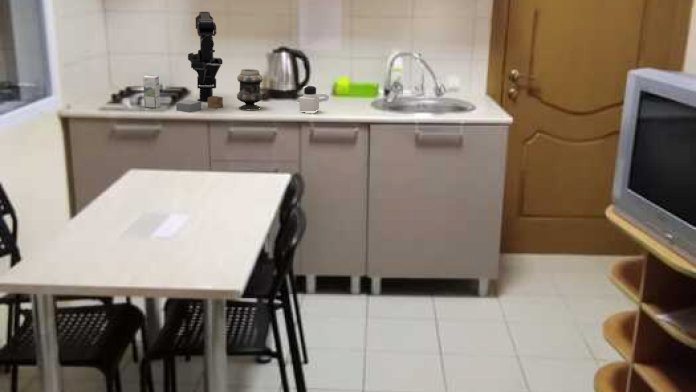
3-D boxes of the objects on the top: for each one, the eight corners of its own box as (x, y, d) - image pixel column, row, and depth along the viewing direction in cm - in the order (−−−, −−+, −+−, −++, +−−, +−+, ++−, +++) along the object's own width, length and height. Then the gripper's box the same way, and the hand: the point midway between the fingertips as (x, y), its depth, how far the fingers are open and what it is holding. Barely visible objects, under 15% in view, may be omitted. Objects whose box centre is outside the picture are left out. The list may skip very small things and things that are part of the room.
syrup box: (160, 106, 347) (159, 75, 343) (156, 108, 342) (154, 76, 337) (148, 105, 348) (147, 74, 343) (144, 107, 342) (142, 76, 338)
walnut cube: (214, 106, 352) (213, 95, 350) (222, 107, 350) (222, 97, 348) (207, 107, 348) (207, 97, 346) (216, 109, 345) (216, 98, 344)
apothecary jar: (268, 108, 350) (268, 70, 345) (248, 111, 342) (247, 72, 336) (251, 104, 358) (251, 67, 352) (231, 107, 349) (231, 69, 344)
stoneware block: (187, 108, 346) (187, 99, 345) (201, 110, 343) (201, 101, 341) (176, 111, 339) (176, 102, 338) (190, 113, 336) (190, 104, 335)
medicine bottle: (319, 111, 348) (319, 86, 345) (313, 114, 342) (314, 88, 338) (305, 110, 351) (305, 84, 347) (299, 112, 344) (299, 86, 341)
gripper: (202, 44, 350) (202, 77, 355) (180, 48, 333) (181, 83, 338) (222, 46, 346) (223, 79, 351) (201, 50, 329) (202, 85, 334)
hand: (207, 81), depth 344 cm, fingers open, 9 cm apart
